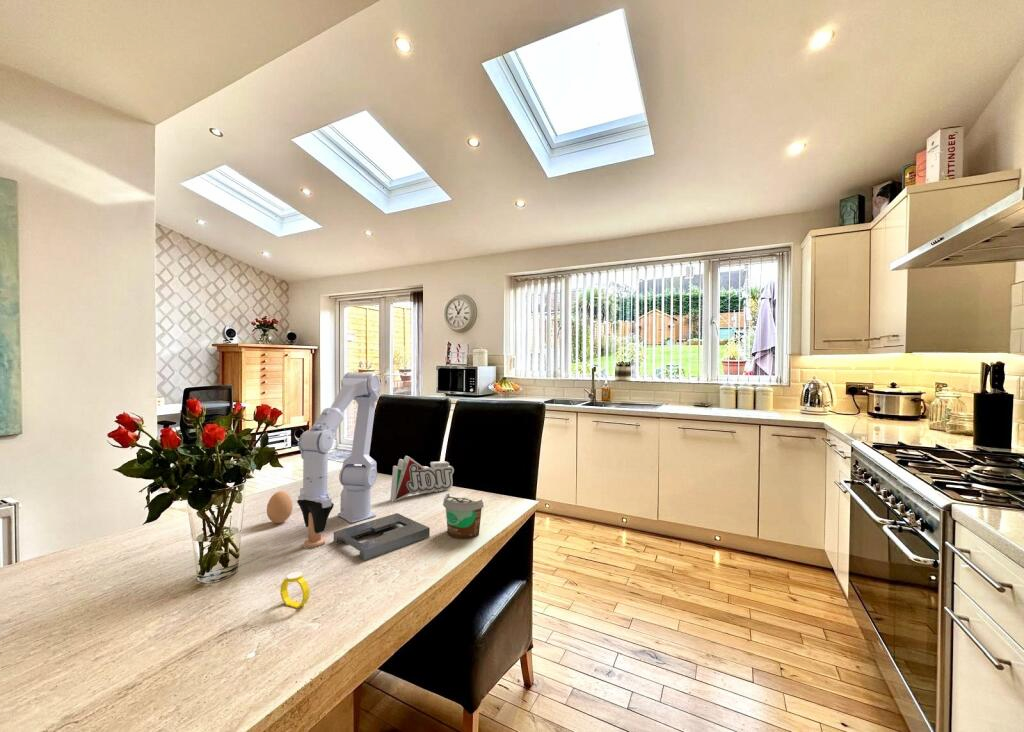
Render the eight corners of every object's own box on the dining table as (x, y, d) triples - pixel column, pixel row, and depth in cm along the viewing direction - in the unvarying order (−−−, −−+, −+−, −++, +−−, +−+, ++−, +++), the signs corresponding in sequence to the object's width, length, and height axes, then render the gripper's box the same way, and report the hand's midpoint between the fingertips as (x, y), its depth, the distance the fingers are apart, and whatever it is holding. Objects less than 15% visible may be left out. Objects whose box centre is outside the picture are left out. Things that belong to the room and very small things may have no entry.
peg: (300, 544, 106) (301, 513, 106) (320, 538, 110) (320, 508, 110) (308, 550, 103) (309, 518, 103) (328, 543, 107) (328, 513, 107)
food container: (433, 535, 113) (433, 498, 113) (447, 527, 118) (447, 492, 118) (471, 544, 107) (471, 506, 107) (483, 536, 112) (483, 499, 112)
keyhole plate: (333, 541, 108) (333, 531, 108) (396, 521, 122) (396, 513, 122) (363, 561, 97) (364, 550, 97) (429, 536, 111) (429, 527, 111)
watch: (277, 607, 79) (276, 576, 79) (289, 600, 82) (288, 569, 82) (301, 612, 77) (300, 579, 77) (313, 604, 80) (311, 573, 80)
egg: (293, 524, 119) (293, 492, 119) (266, 528, 116) (267, 496, 116) (291, 516, 125) (291, 487, 125) (266, 521, 121) (266, 490, 121)
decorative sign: (447, 493, 157) (451, 454, 157) (451, 495, 154) (455, 455, 155) (389, 500, 142) (394, 456, 143) (392, 502, 140) (397, 457, 141)
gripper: (288, 474, 108) (287, 525, 108) (311, 485, 99) (310, 541, 99) (315, 469, 114) (315, 518, 114) (339, 479, 104) (339, 533, 104)
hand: (314, 528), depth 106 cm, fingers open, 5 cm apart
